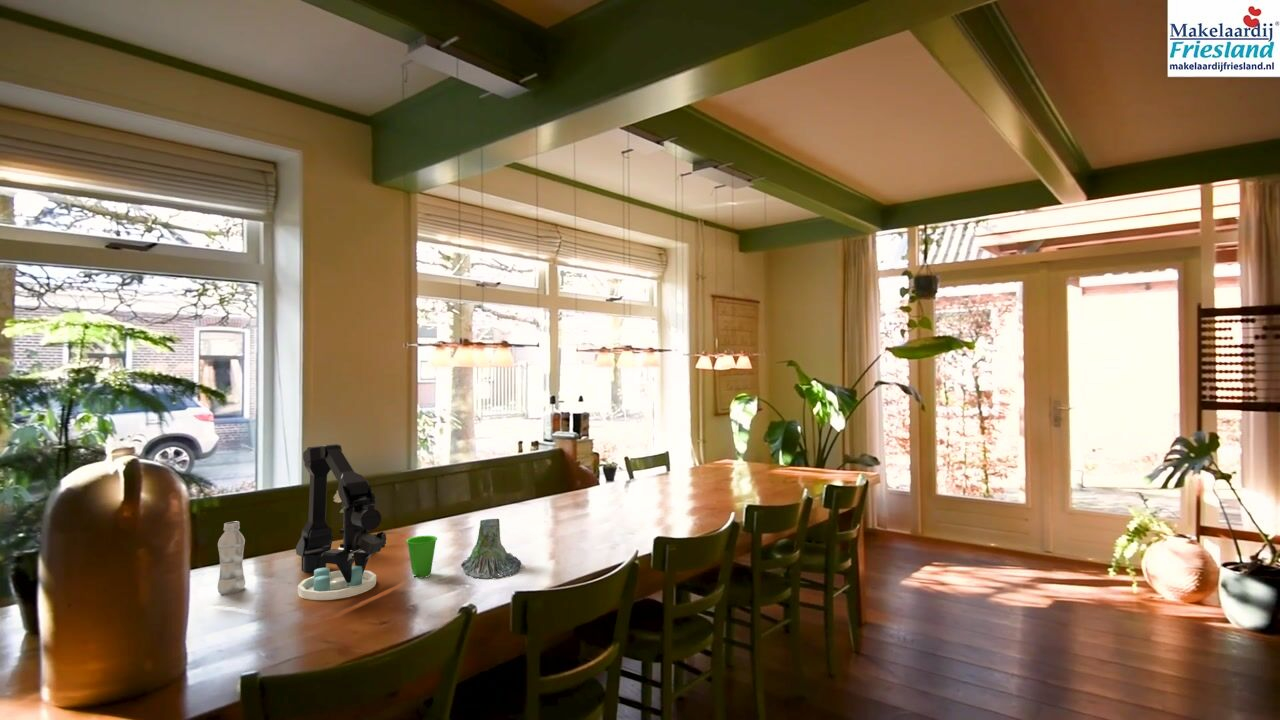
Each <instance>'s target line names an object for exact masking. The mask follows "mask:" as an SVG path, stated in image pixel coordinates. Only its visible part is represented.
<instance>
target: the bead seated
mask: <svg viewBox="0 0 1280 720" xmlns="http://www.w3.org/2000/svg"><path fill="white" fill-rule="evenodd" d="M330 572H331V570H330V568H329V567H326V568H319V569H316V570H314V572H313V576H314V578H315V577H318V576H330Z"/></svg>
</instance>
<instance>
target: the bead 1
mask: <svg viewBox="0 0 1280 720" xmlns="http://www.w3.org/2000/svg"><path fill="white" fill-rule="evenodd" d="M314 591H330V576H318V577H315V578H314Z"/></svg>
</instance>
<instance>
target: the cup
mask: <svg viewBox="0 0 1280 720" xmlns="http://www.w3.org/2000/svg"><path fill="white" fill-rule="evenodd" d="M437 540H438V536H437V537H436V536H434V535H418V536H414V537H412V536H411V537H410V538H408V539H406V540H405V542H406V543H407V547H408V554H409V561H410V566H411V573H412V574H413V578H415V577H418V578H417V579H421V578H420V577H423V578H427V577H430V576H431V573H432V567H433V561H434V555H435V550H436V543H437ZM426 576H427V577H426Z"/></svg>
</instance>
